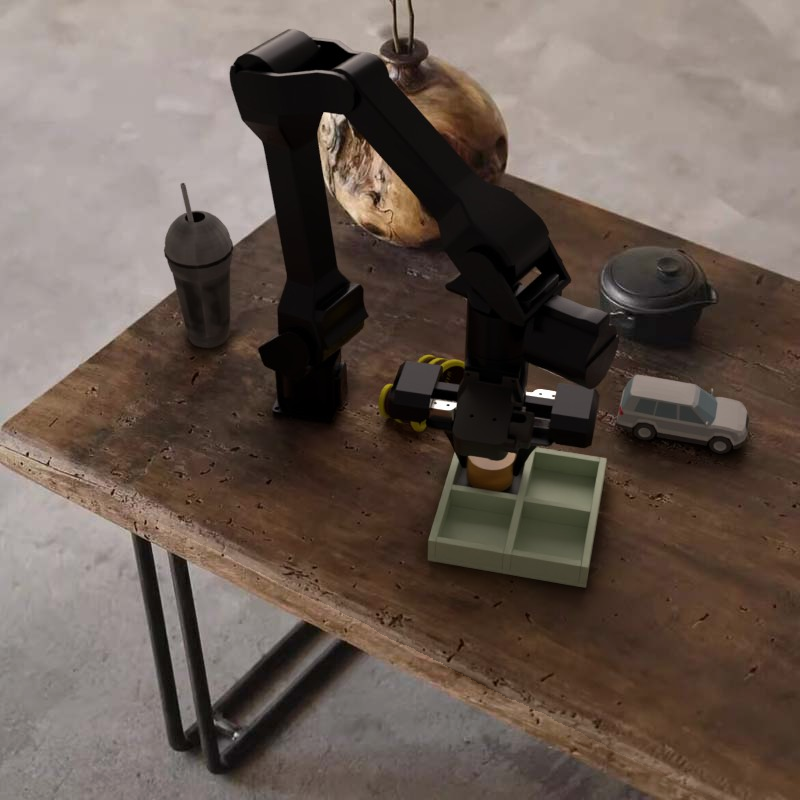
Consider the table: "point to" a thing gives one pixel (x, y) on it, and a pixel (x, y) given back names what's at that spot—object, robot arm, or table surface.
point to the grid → (523, 519)
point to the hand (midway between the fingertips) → (490, 469)
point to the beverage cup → (201, 273)
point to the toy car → (682, 414)
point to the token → (490, 472)
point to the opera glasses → (451, 374)
